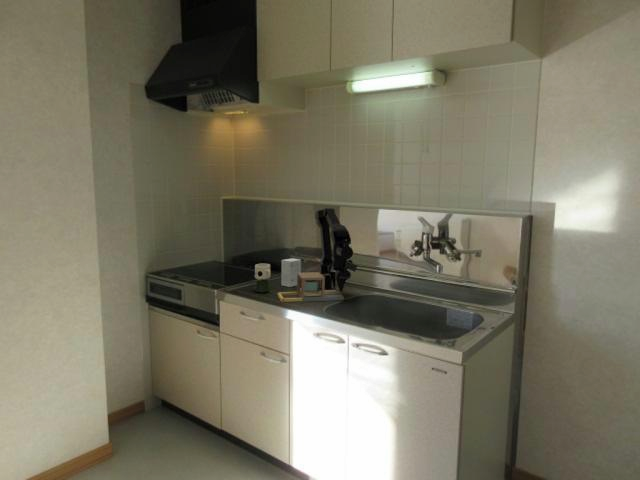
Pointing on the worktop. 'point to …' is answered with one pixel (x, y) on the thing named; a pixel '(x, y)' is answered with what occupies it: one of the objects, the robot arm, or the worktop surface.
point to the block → (310, 285)
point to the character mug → (262, 277)
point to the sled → (318, 292)
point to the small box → (290, 272)
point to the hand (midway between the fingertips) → (338, 289)
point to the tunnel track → (301, 284)
